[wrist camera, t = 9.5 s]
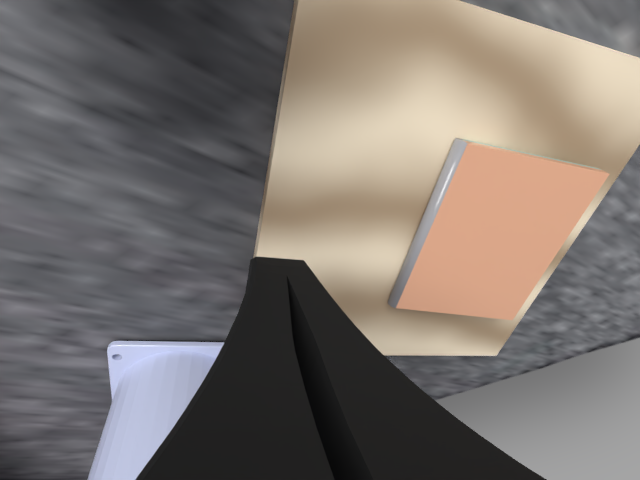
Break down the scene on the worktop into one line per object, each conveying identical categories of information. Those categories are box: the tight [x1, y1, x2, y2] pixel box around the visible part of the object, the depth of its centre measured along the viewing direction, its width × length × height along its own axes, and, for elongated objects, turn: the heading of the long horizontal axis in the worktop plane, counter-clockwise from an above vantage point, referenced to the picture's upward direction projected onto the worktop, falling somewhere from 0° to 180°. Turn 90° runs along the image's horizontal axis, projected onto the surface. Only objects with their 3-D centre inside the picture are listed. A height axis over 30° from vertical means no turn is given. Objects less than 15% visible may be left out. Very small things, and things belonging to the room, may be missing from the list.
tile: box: [388, 138, 609, 320], centre depth 20 cm, size 10×8×1 cm
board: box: [253, 0, 640, 356], centre depth 20 cm, size 20×19×1 cm
